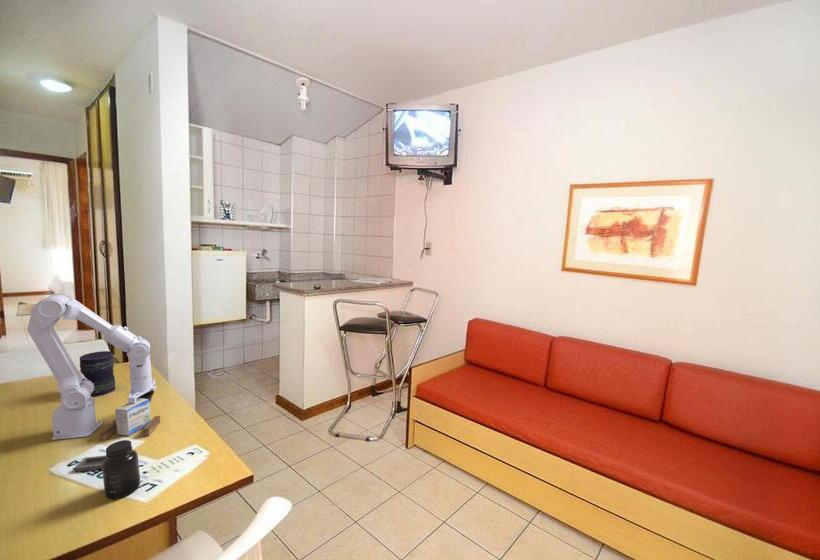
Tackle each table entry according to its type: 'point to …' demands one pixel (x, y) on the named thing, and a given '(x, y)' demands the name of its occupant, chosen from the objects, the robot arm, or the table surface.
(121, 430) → the medicine box
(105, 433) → the lane wall left
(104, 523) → the table surface
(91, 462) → the dark grey flat tray
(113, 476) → the supplement bottle
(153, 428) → the lane wall right
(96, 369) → the storage jar
